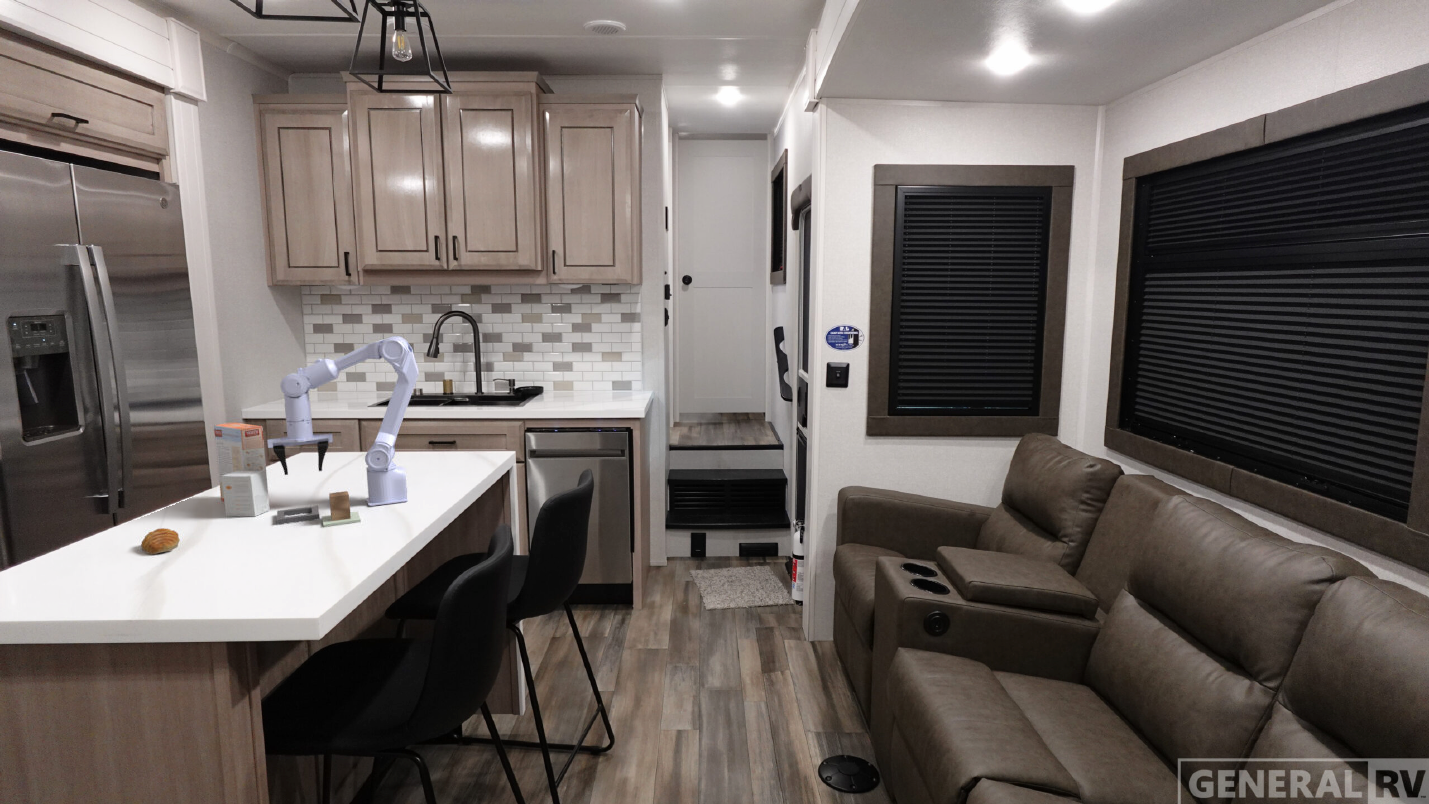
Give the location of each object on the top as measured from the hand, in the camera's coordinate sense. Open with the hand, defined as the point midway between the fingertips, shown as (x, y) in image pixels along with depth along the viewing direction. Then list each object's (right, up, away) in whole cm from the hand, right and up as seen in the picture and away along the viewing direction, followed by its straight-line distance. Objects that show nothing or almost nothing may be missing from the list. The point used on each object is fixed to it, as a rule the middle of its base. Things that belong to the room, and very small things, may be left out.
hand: (303, 472), depth 192 cm
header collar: (+3, -11, -7) cm, 13 cm away
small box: (-12, -10, -3) cm, 16 cm away
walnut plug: (+15, -10, -10) cm, 20 cm away
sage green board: (+15, -11, -10) cm, 21 cm away
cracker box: (-20, -9, +7) cm, 23 cm away
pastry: (-15, -14, -29) cm, 35 cm away
